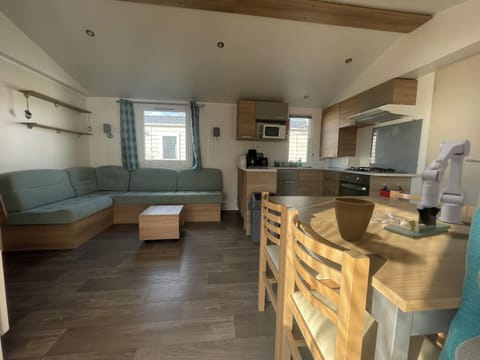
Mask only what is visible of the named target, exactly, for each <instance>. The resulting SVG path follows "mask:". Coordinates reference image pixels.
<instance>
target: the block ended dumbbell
mask: <svg viewBox="0 0 480 360" xmlns="http://www.w3.org/2000/svg"><path fill="white" fill-rule="evenodd" d="M437 219H438V216H437V215H436V216H431V215H430V216H429V220H428V223H427V224H426V223H422V222H421V219H420V215H418V221H417V222H418V223H414V222H410V221H411V220H405V222H408V223H410V225H411V229H414V230H415V226H416V224H420V227H426V226H432V225H434V226H435V227H436V222H437ZM420 227H419V228H420Z"/></svg>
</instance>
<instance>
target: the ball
mask: <svg viewBox="0 0 480 360" xmlns="http://www.w3.org/2000/svg"><path fill="white" fill-rule="evenodd" d="M405 221H406V220H405ZM405 221H400V222H401V223H400V226H404V227H407V228H411V225H410V223H408V222H405Z"/></svg>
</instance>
